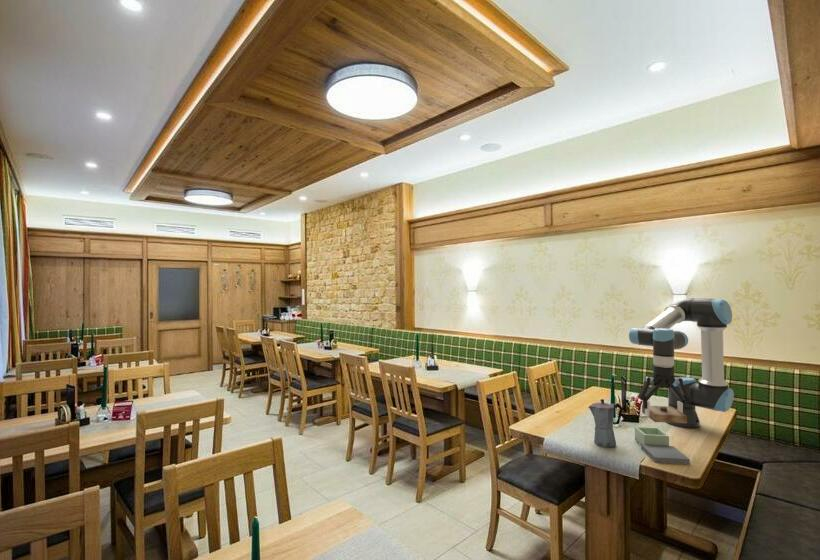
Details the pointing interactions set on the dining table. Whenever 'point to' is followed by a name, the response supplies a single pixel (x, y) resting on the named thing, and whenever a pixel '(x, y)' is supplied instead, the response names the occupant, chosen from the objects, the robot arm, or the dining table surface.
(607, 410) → the moka pot
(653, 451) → the mat
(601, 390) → the dining table surface
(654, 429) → the green open box
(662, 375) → the robot arm
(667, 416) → the lid
